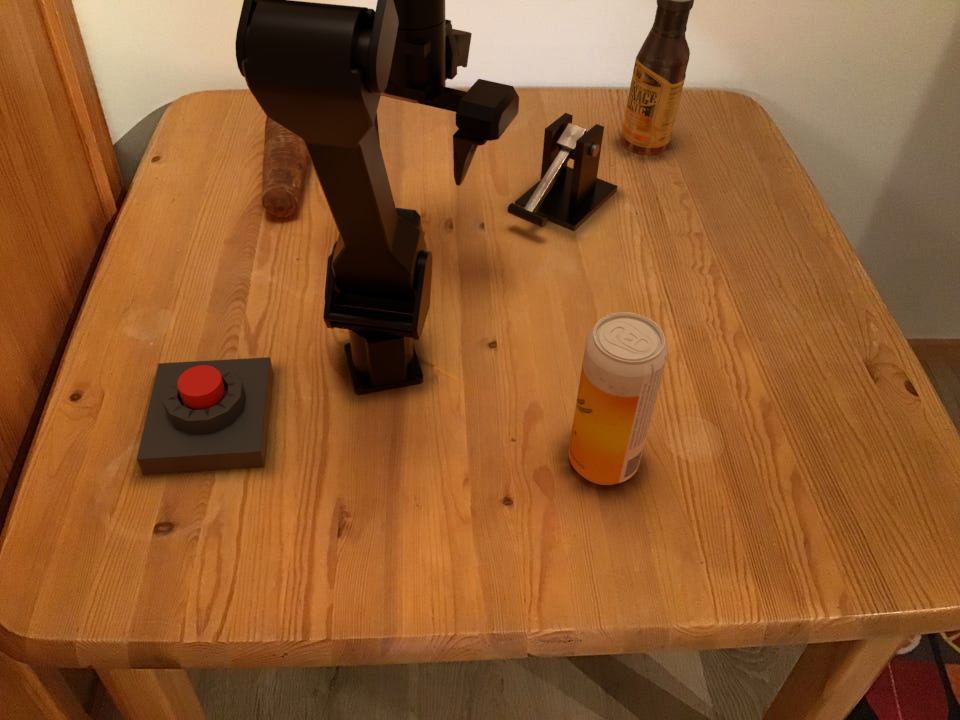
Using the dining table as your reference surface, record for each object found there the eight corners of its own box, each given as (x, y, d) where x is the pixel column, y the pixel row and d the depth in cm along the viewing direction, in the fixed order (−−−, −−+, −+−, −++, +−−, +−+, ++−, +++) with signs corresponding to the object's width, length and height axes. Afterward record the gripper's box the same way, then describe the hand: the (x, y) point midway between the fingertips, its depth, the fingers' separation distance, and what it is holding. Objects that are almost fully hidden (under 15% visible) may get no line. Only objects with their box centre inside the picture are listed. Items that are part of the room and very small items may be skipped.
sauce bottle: (610, 139, 110) (634, -17, 96) (651, 129, 112) (680, -25, 98) (637, 165, 106) (667, 6, 92) (679, 154, 108) (714, -3, 93)
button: (222, 408, 71) (218, 394, 70) (178, 411, 71) (174, 397, 70) (227, 377, 74) (223, 363, 73) (185, 380, 74) (180, 365, 72)
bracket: (573, 235, 95) (583, 159, 88) (514, 209, 98) (519, 134, 91) (616, 194, 101) (628, 120, 94) (559, 171, 104) (567, 98, 97)
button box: (264, 467, 72) (257, 437, 69) (143, 475, 71) (130, 445, 68) (273, 373, 79) (267, 343, 76) (164, 379, 78) (153, 349, 76)
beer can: (593, 423, 76) (616, 297, 65) (651, 458, 73) (685, 333, 63) (553, 464, 73) (571, 339, 62) (613, 502, 70) (642, 378, 59)
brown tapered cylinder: (320, 134, 109) (316, 94, 105) (303, 223, 96) (297, 181, 92) (271, 133, 109) (264, 93, 105) (247, 223, 95) (238, 181, 91)
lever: (543, 232, 93) (539, 221, 90) (509, 217, 94) (504, 206, 92) (598, 144, 95) (595, 132, 92) (563, 131, 96) (560, 119, 94)
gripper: (545, 1, 76) (533, 154, 87) (360, -34, 81) (370, 115, 92) (500, 51, 69) (493, 211, 80) (299, 10, 73) (319, 166, 84)
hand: (417, 172), depth 84 cm, fingers open, 9 cm apart
